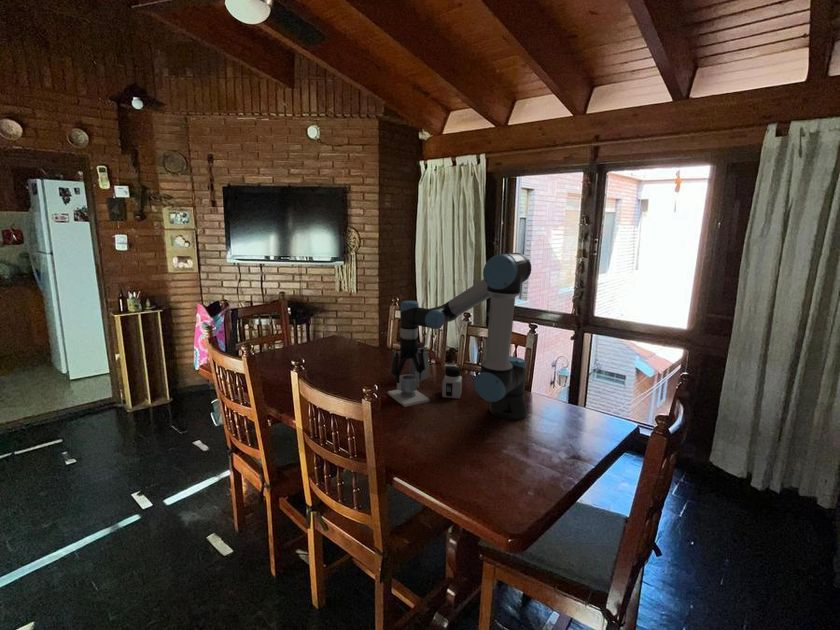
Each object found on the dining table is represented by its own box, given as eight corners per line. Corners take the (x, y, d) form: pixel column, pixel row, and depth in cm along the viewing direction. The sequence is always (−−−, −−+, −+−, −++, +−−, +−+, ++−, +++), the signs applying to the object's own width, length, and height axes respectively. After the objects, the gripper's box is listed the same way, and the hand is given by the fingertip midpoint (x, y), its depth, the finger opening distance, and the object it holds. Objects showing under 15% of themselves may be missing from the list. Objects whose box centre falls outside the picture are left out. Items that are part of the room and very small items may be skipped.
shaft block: (429, 401, 188) (429, 385, 187) (404, 406, 182) (404, 390, 181) (411, 389, 202) (411, 374, 200) (387, 393, 196) (387, 378, 194)
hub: (420, 389, 190) (420, 378, 189) (404, 393, 186) (404, 381, 185) (411, 383, 197) (411, 373, 195) (395, 386, 193) (395, 375, 192)
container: (459, 398, 192) (460, 370, 189) (442, 397, 193) (442, 368, 191) (461, 392, 199) (462, 364, 197) (444, 390, 201) (445, 363, 198)
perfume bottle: (419, 381, 211) (420, 345, 208) (408, 378, 215) (409, 343, 212) (427, 378, 217) (428, 342, 213) (417, 375, 221) (417, 340, 217)
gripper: (425, 332, 195) (424, 381, 199) (382, 337, 184) (382, 388, 189) (434, 336, 188) (432, 386, 193) (390, 342, 178) (390, 395, 183)
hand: (408, 387), depth 191 cm, fingers closed on hub, 8 cm apart
